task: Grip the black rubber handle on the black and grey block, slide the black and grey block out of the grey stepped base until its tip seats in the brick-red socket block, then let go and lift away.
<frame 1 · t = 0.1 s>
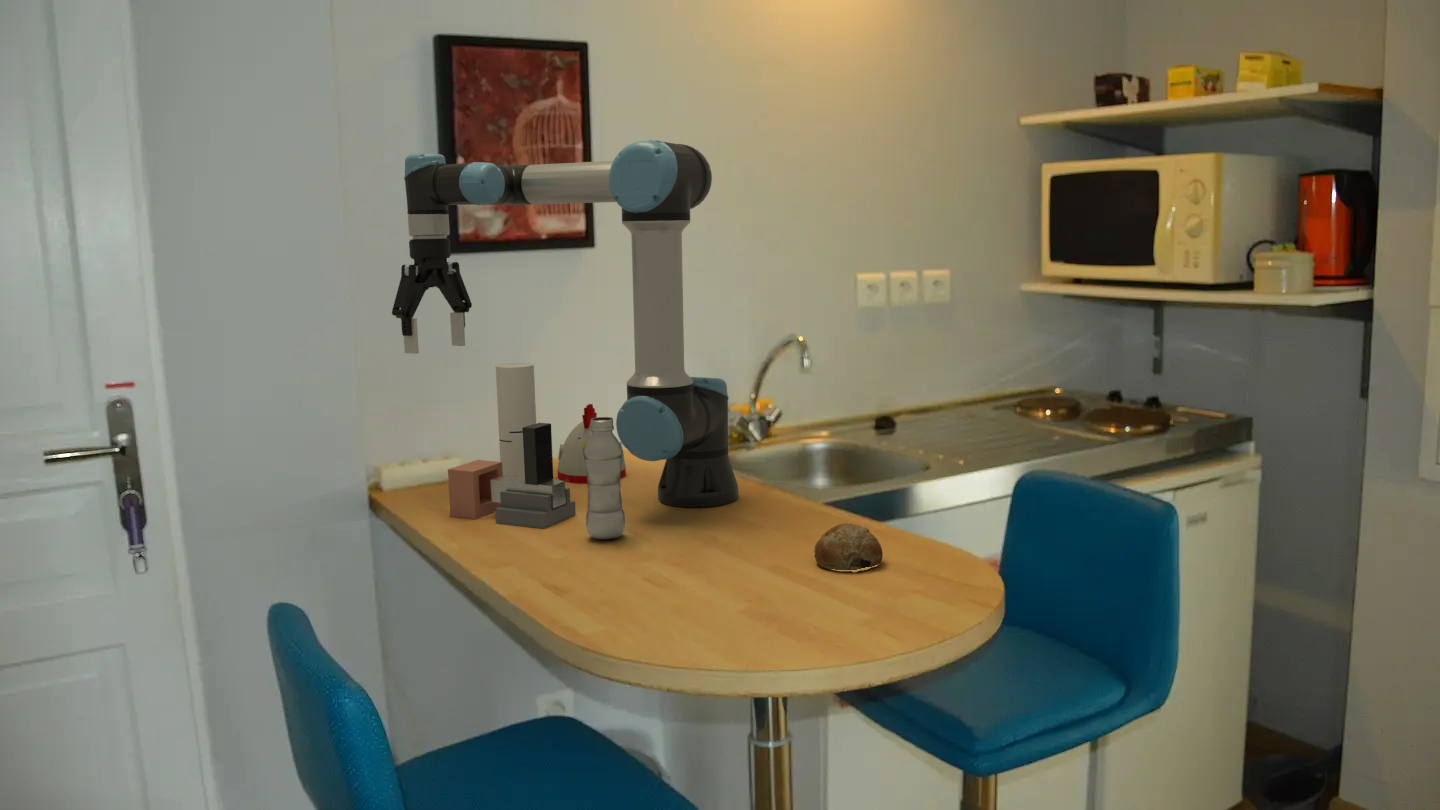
hand: (435, 349, 216), 28 cm above the breakfast bar, fingers open, 13 cm apart
cylindrical container: (520, 494, 218), on the breakfast bar
kitchen timer: (592, 477, 232), on the breakfast bar
plastic bottle: (606, 539, 185), on the breakfast bar
grey stepped base: (536, 518, 198), on the breakfast bar
socket block: (477, 511, 204), on the breakfast bar
bread roll: (846, 565, 170), on the breakfast bar
black and grey block: (526, 463, 198), point 10 cm above the breakfast bar, slide at 0.0 cm
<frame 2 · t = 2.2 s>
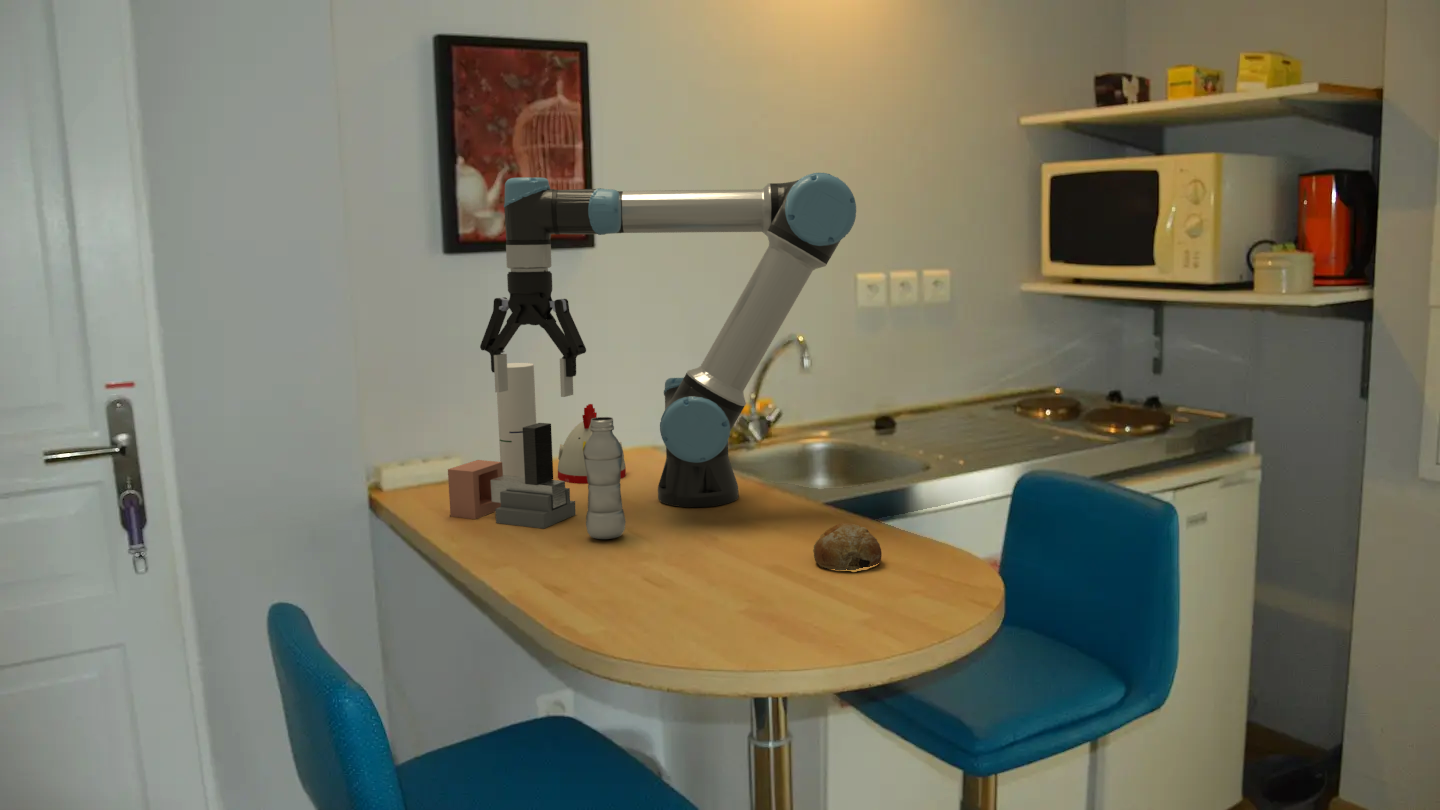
hand: (533, 393, 194), 22 cm above the breakfast bar, fingers open, 13 cm apart
nothing on the breakfast bar moved.
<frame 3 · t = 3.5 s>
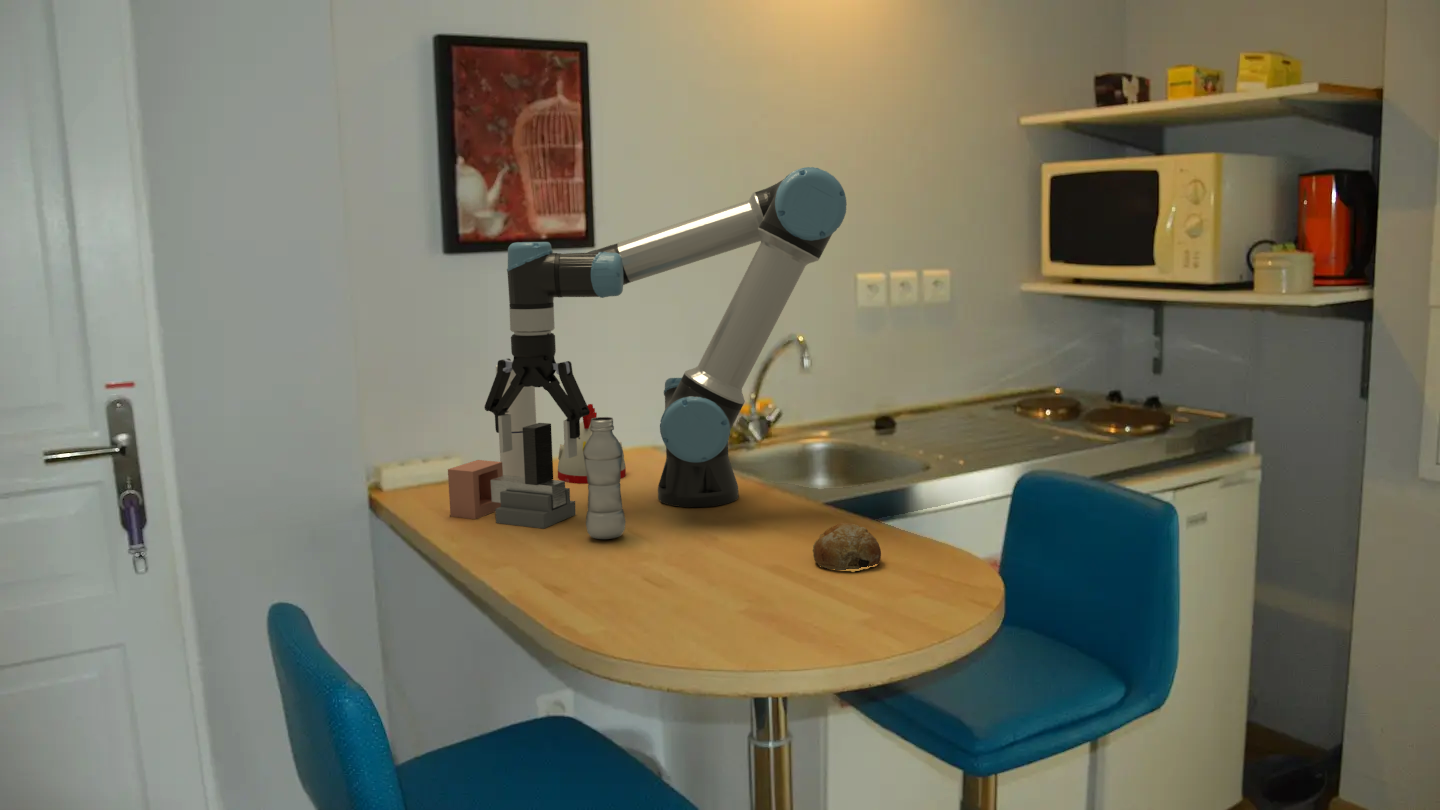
hand: (538, 454, 196), 12 cm above the breakfast bar, fingers open, 13 cm apart
nothing on the breakfast bar moved.
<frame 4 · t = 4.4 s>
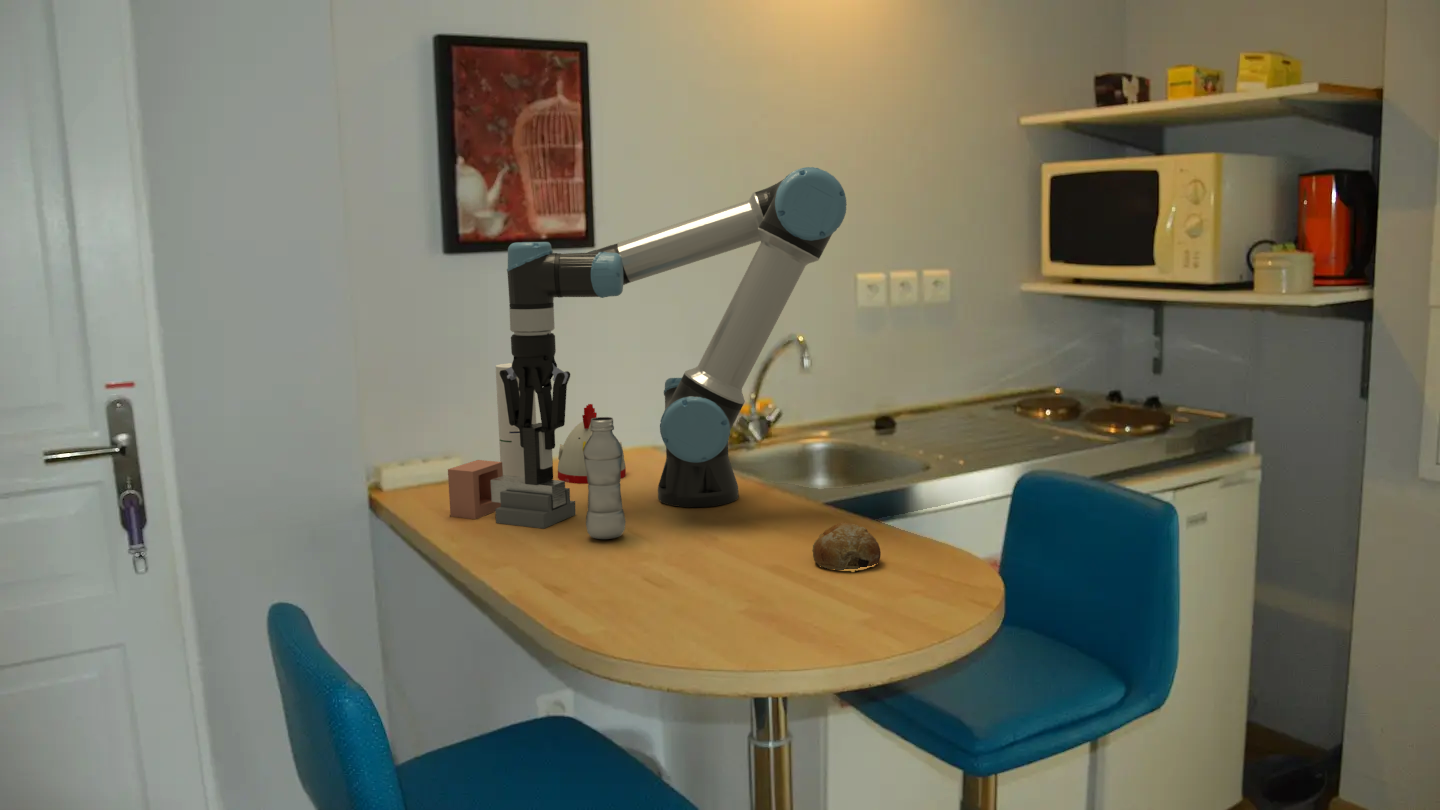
hand: (538, 466, 197), 10 cm above the breakfast bar, fingers closed on black and grey block, 2 cm apart
black and grey block: (526, 463, 198), point 10 cm above the breakfast bar, slide at 0.0 cm, touching gripper
everything else where it was.
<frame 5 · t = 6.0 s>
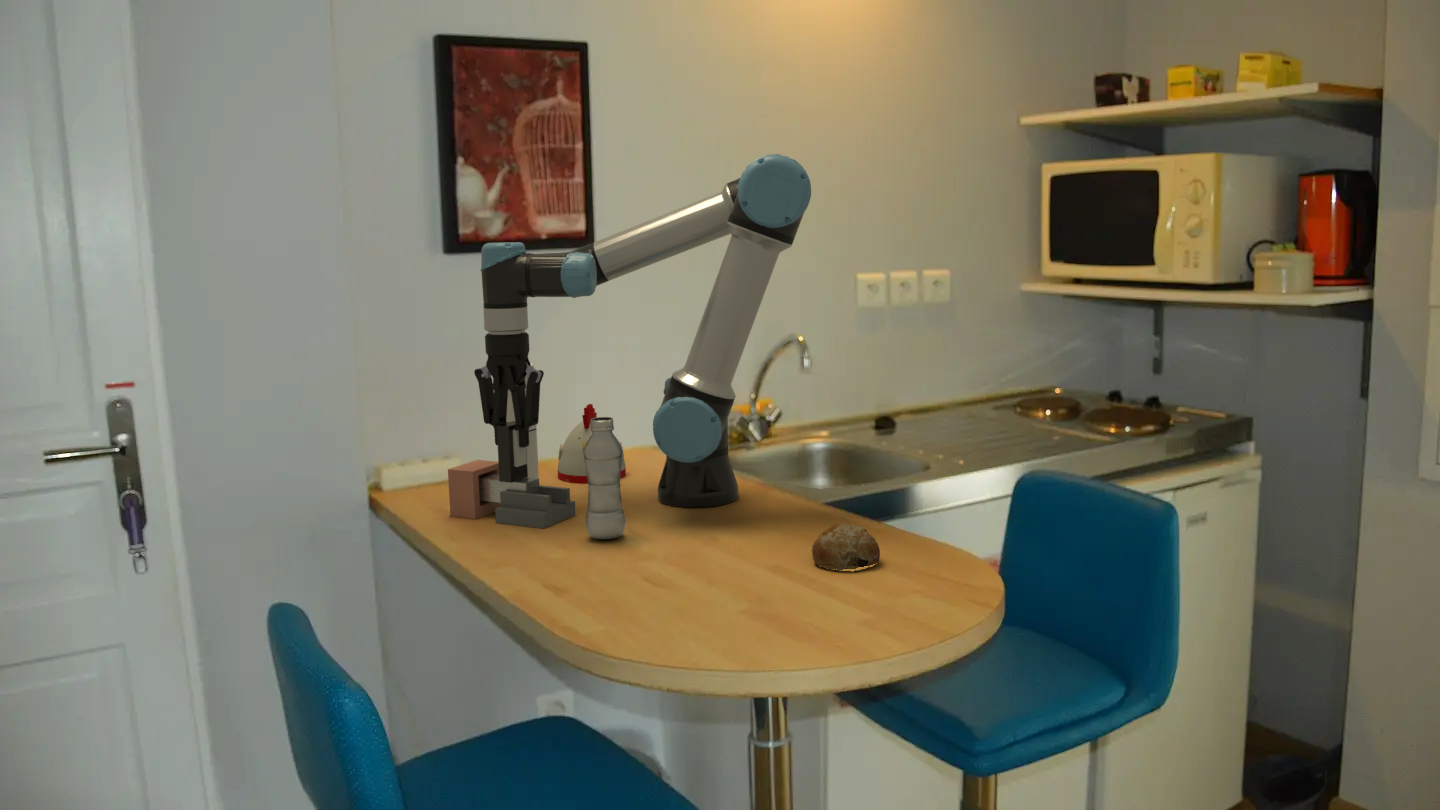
hand: (513, 464, 199), 10 cm above the breakfast bar, fingers closed on black and grey block, 2 cm apart
black and grey block: (501, 461, 200), point 10 cm above the breakfast bar, slide at 5.5 cm, touching gripper
everything else where it was.
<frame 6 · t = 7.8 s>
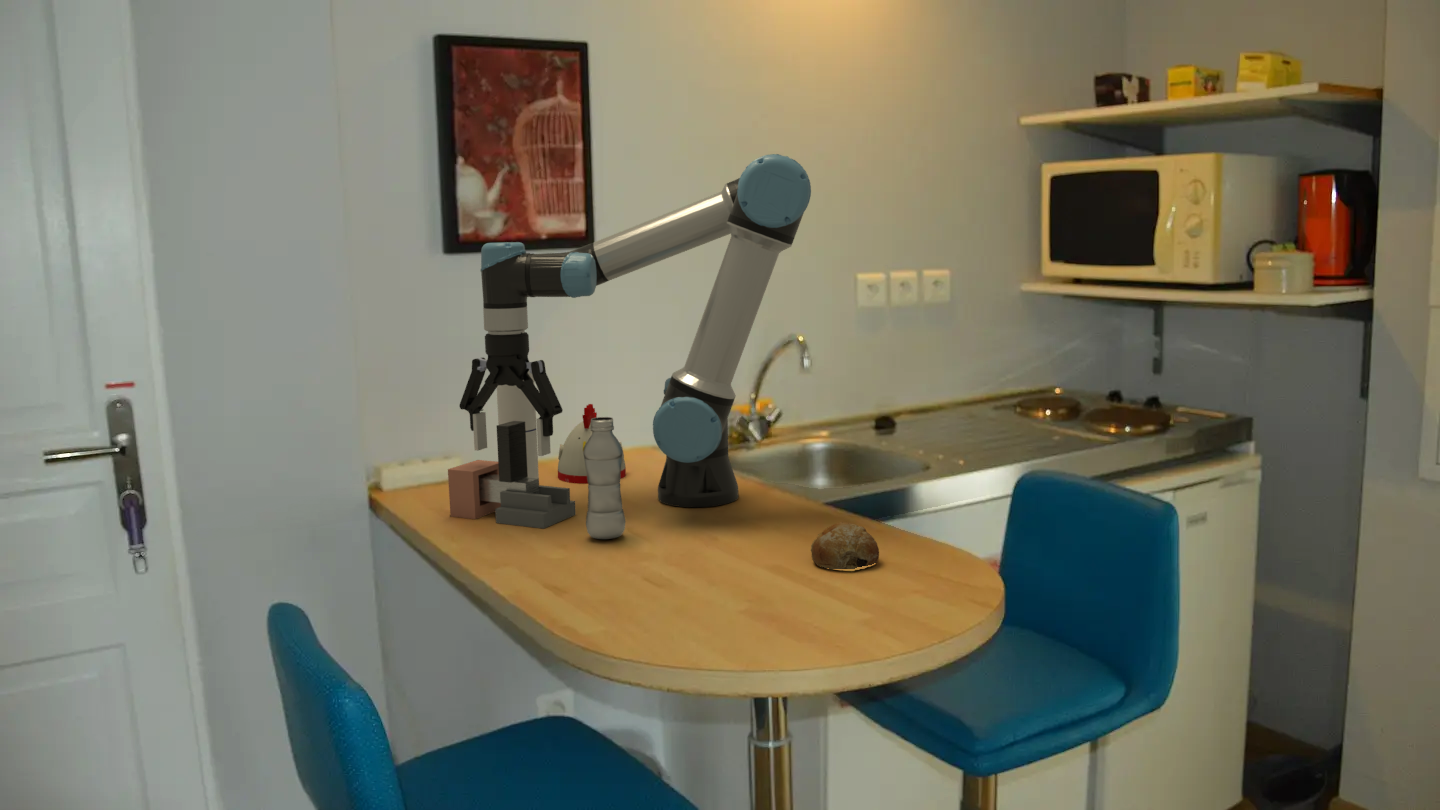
hand: (512, 452, 199), 12 cm above the breakfast bar, fingers open, 13 cm apart
black and grey block: (501, 461, 200), point 10 cm above the breakfast bar, slide at 5.5 cm
everything else where it was.
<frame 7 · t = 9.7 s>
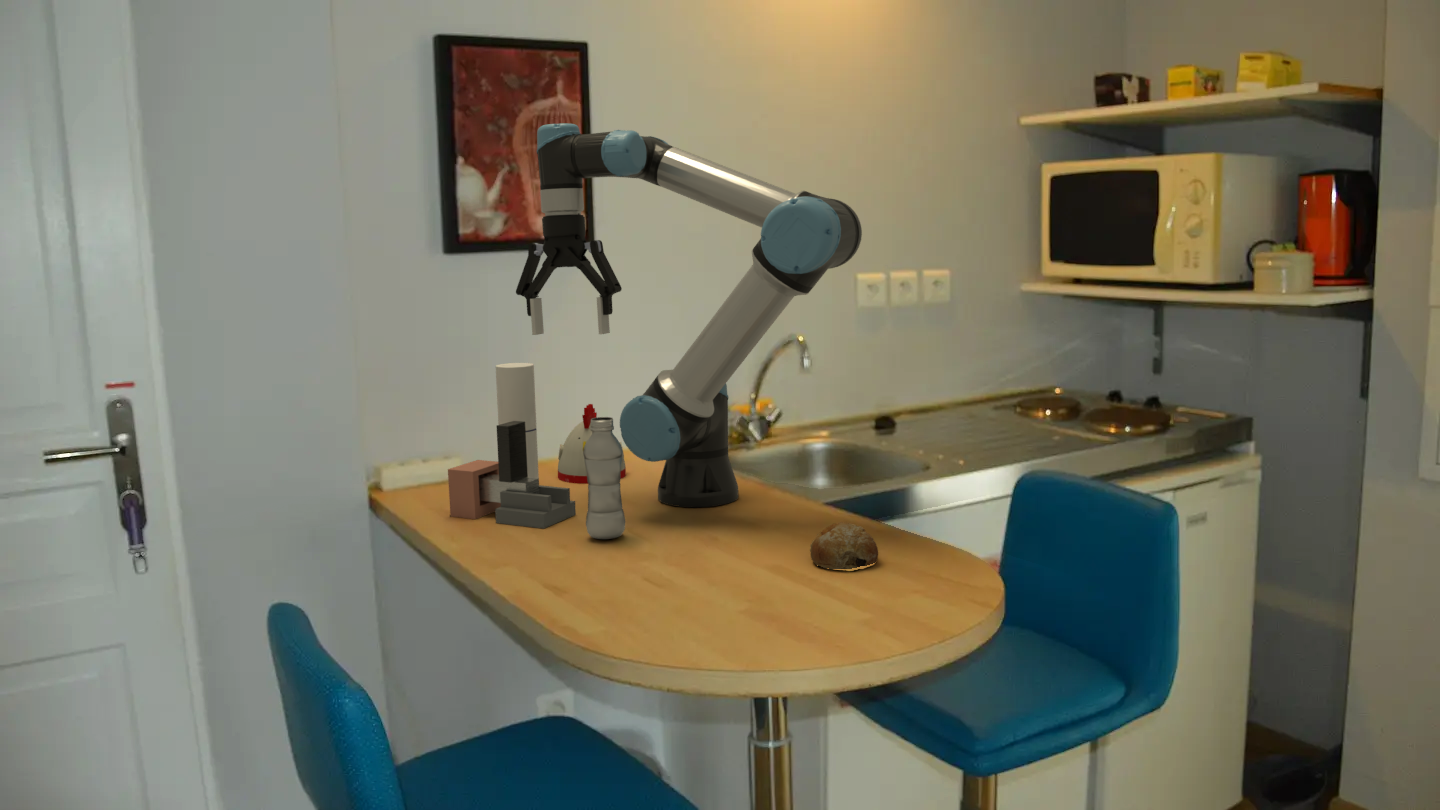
hand: (570, 334, 202), 32 cm above the breakfast bar, fingers open, 13 cm apart
nothing on the breakfast bar moved.
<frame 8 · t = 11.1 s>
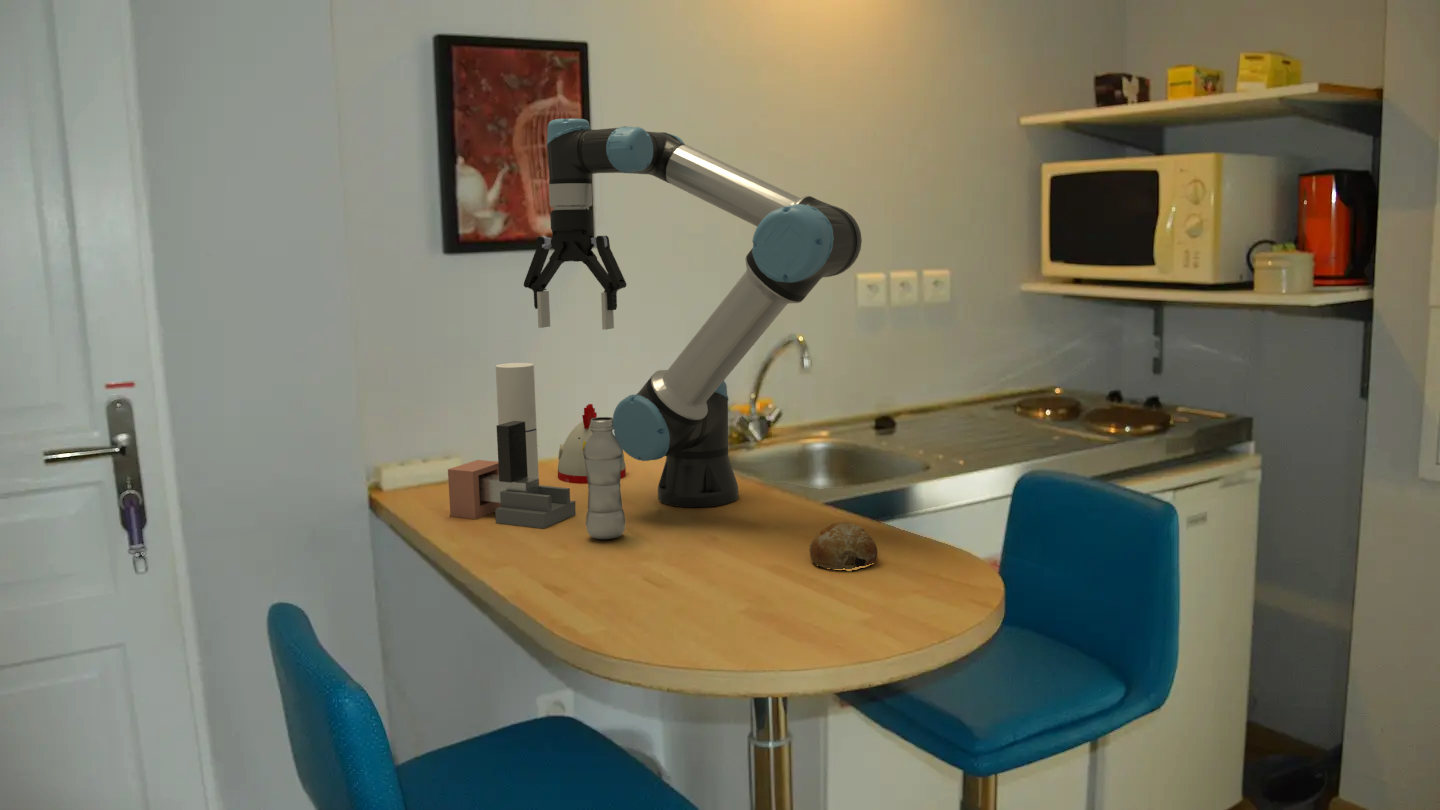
hand: (575, 328, 203), 33 cm above the breakfast bar, fingers open, 13 cm apart
nothing on the breakfast bar moved.
at the end: black and grey block slide at 5.5 cm; the gripper is holding nothing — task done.
